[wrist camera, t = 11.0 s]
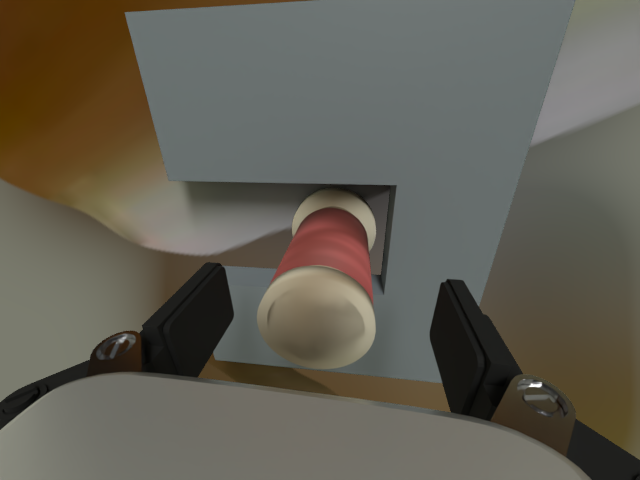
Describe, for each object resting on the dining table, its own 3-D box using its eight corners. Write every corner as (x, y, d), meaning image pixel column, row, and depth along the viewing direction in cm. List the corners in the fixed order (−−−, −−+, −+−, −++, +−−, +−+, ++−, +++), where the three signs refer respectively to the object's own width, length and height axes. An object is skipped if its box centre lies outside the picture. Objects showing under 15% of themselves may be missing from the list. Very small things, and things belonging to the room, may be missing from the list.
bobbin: (378, 188, 18) (401, 267, 9) (372, 263, 20) (384, 385, 11) (292, 186, 18) (231, 257, 9) (296, 259, 21) (251, 371, 12)
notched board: (541, 6, 13) (580, -17, 11) (444, 358, 23) (454, 384, 21) (159, 27, 15) (124, 12, 13) (227, 338, 26) (215, 359, 23)
